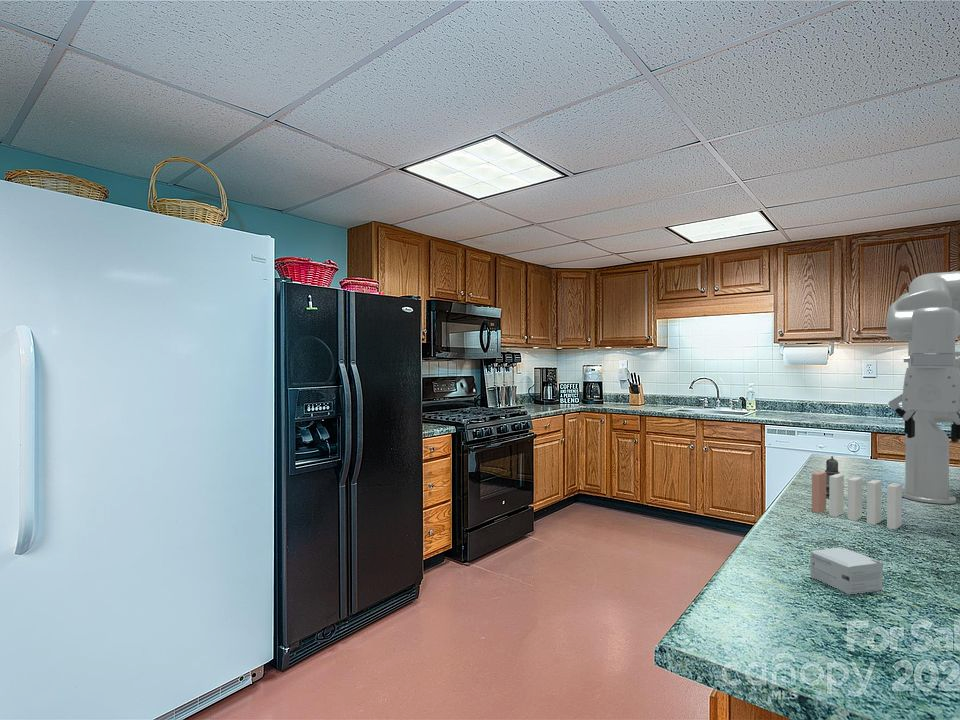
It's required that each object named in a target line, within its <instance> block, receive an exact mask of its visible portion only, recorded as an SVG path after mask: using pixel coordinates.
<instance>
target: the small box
mask: <svg viewBox="0 0 960 720" xmlns="http://www.w3.org/2000/svg"><path fill="white" fill-rule="evenodd" d="M883 573H884V563H883V562H882V561H879V560H877V559H874V558H872V557H869V556H867V555H864V554H862V553H859V552H857V551H856V552H855V551H853V550H851V549H848V548H845V547H832V548H831V547H830V548H825V549H817V550H810V573H809V574H810V578H811V577H812V579H813V578H814V579H815V580H816V579H817V581H818V580H819V581H818V582H820V581H822V582H823V584H825V583H826V584H825V585H827V584H828V585H827V586H829V585H830V586H829V587H831V586H832V588H833V587H834V588H833V589H835V588H837V589H839V590H841V591H843V592H845V593H846V595H847V594H849V595H848V596H851V595H850V594H855V595H858V594H857V593H861V594H866V593H865V592H867V593H873V591H874V592H880V591H879V590H881V591H883ZM822 582H821V583H822ZM837 589H836V590H837ZM839 590H838V591H839ZM841 591H840V592H841ZM843 592H842V593H843ZM845 593H844V594H845Z"/></svg>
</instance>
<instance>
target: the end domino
mask: <svg viewBox="0 0 960 720" xmlns="http://www.w3.org/2000/svg"><path fill="white" fill-rule="evenodd" d="M826 494H827V493H826V472H825V471H821V470H820V471H816V472H813V473H811V512H812V513H814V514H820V513H823V512H825V511H827V498H826ZM824 510H825V511H824ZM822 511H823V512H822Z"/></svg>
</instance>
